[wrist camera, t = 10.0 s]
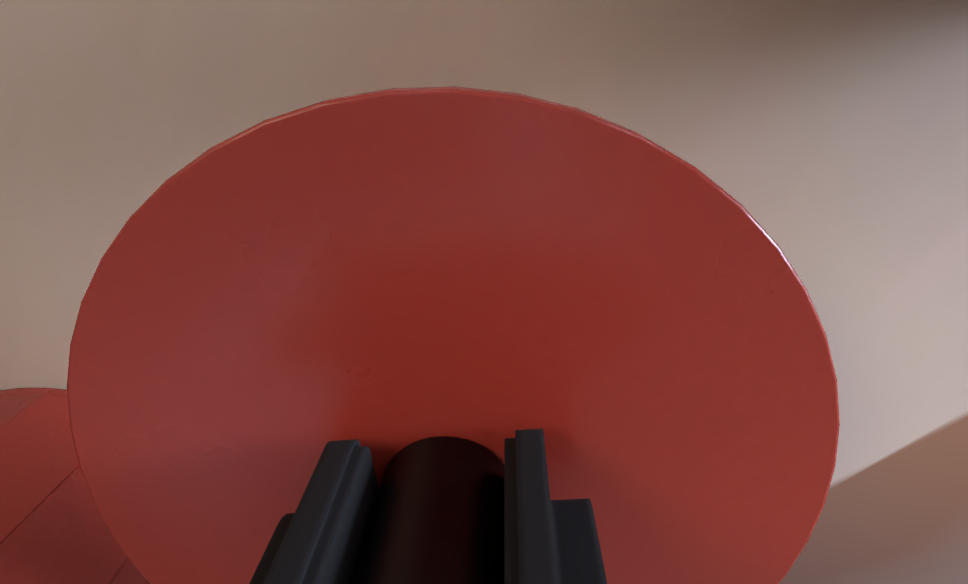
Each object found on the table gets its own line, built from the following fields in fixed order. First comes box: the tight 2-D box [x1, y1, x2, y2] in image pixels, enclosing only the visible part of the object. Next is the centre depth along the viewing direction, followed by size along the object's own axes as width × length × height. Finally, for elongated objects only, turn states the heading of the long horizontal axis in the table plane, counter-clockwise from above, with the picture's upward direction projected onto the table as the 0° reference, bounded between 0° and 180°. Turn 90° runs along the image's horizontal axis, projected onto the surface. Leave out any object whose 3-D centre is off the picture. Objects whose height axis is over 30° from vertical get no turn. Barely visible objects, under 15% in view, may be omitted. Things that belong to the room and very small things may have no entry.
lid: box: [67, 86, 840, 584], centre depth 10 cm, size 15×15×6 cm
